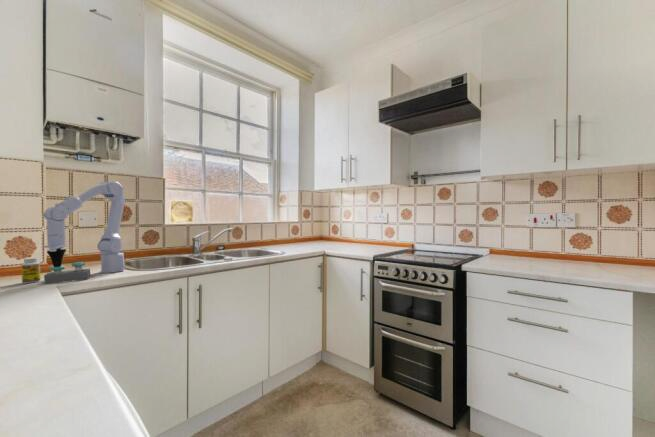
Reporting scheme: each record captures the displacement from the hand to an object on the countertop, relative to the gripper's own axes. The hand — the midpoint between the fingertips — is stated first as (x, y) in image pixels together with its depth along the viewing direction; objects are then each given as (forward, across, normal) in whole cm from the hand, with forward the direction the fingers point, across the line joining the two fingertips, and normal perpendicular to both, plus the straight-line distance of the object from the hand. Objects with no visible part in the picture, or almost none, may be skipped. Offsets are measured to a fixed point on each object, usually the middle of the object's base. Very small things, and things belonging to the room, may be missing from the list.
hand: (57, 266), depth 129 cm
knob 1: (+4, 0, 0) cm, 4 cm away
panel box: (+6, 0, +4) cm, 7 cm away
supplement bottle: (+6, -3, -9) cm, 11 cm away
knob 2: (+3, 0, +7) cm, 8 cm away
